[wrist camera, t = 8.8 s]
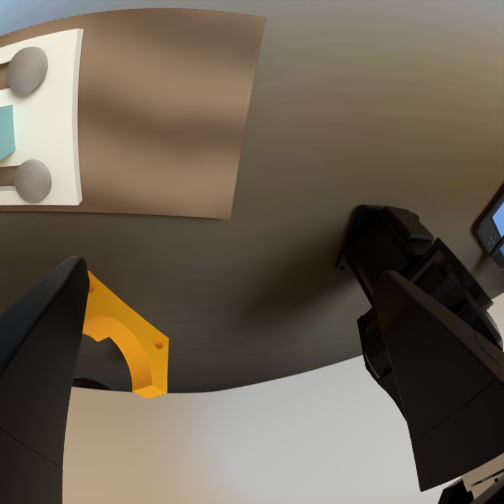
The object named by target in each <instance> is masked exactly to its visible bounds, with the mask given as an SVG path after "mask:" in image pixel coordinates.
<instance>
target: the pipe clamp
mask: <svg viewBox="0 0 504 504" xmlns="http://www.w3.org/2000/svg"><path fill="white" fill-rule="evenodd" d="M87 271H88V270H87ZM88 275H89V280H90V289H89V294H88V300H87V306H86V313H85V319H84V326H83V333H84V334H86V335H88V336H90V337H92V338H93V339H95V340H96V341H97V342H99V341H101V340H103V339H105V338H107V337H110V338H111V339H112V340H113V341H114V342H115V343H116V344H117V346H118V347H119V348H120V350H121V351H122V353H123V355H124V357H125V359H126V361H127V363H128V366H129V369H130V372H131V377H132V391H133V392H135V393H137V394H138V395H141V396H142V397H144V398H146V399H148V398H152V397H156V396H160V395H163V394H167V371H168V345H169V338H168V337H166V336H165V335H164V334H162V333H161V332H160V331H158V330H157V329H156V328H155V327H153V326H152V325H151V324H150V323H148V322H147V321H146V320H145V319H143V318H142V317H141V316H140V315H138V314H137V313H136V312H135V311H134V310H132V309H131V308H130V307H129V306H128V305H126V304H125V303H124V302H123V301H122V300H120V299H119V298H118V297H117V296H116V295H115V294H114V293H112V292H111V291H110V290H109V289H108V288H107V287H106V286H105V285H103V284H102V283H101V282H100V281H99V280H98V279H97V278H96V277H95V276H94V275H93V274H91V273H90V272H89V271H88Z"/></svg>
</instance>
